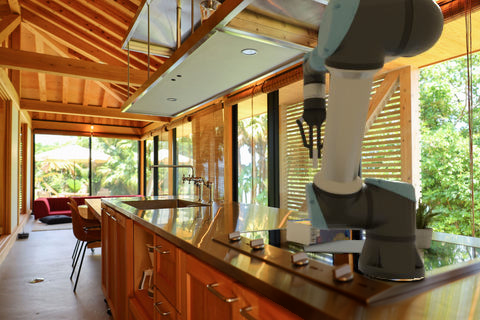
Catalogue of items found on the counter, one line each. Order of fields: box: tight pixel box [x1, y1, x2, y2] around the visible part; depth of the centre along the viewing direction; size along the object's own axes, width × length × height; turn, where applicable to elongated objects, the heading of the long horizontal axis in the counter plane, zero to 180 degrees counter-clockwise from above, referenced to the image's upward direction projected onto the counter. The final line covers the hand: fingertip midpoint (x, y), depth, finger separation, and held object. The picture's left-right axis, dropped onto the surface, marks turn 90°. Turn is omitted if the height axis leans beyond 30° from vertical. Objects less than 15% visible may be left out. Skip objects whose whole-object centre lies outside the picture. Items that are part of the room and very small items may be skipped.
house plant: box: [416, 197, 445, 249], centre depth 112 cm, size 14×14×16 cm
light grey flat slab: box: [302, 239, 365, 255], centre depth 112 cm, size 18×22×1 cm
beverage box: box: [285, 218, 352, 245], centre depth 122 cm, size 7×11×22 cm
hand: (315, 168), depth 113 cm, fingers closed
